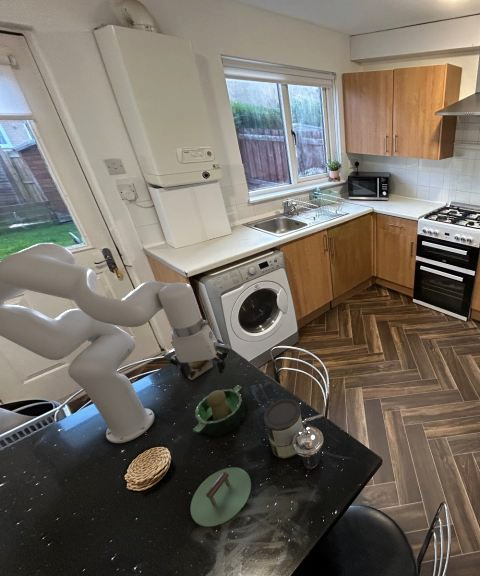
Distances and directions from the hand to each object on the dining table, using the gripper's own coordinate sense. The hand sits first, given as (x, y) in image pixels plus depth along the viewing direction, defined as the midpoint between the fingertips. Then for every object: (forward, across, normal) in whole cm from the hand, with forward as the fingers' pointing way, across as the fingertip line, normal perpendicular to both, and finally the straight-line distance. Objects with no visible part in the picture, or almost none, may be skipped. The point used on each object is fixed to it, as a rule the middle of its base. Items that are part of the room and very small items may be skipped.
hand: (205, 372), depth 93 cm
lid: (+21, -6, +26) cm, 34 cm away
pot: (+22, 0, -1) cm, 22 cm away
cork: (+21, 0, -1) cm, 21 cm away
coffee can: (+22, -22, +13) cm, 34 cm away
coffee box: (+22, +15, -27) cm, 37 cm away
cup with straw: (+22, -29, +21) cm, 42 cm away
